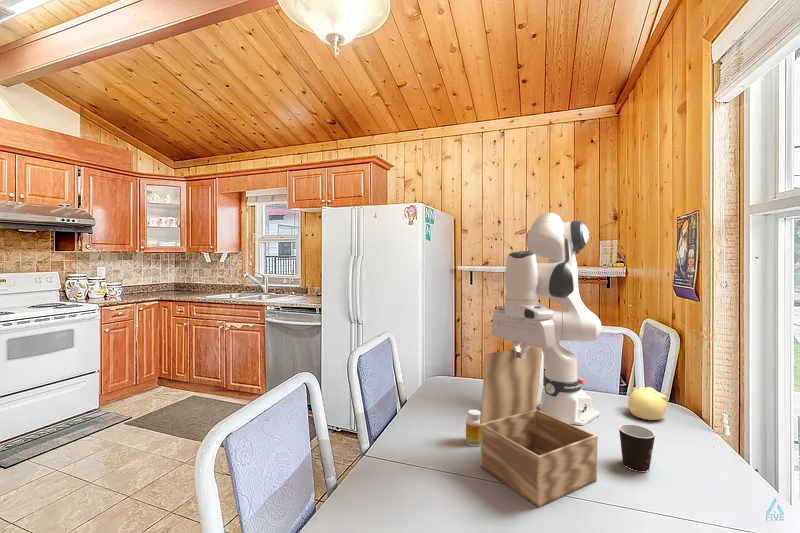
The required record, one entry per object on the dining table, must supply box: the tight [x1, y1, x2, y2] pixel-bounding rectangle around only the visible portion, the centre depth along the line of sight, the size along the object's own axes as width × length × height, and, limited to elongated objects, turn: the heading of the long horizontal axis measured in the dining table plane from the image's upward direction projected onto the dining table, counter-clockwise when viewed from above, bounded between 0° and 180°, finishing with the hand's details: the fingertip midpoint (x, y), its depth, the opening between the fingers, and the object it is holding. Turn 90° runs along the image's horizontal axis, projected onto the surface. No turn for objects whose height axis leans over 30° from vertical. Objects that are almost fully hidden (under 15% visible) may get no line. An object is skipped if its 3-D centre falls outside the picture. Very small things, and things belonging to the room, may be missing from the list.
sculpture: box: [627, 386, 668, 421], centre depth 142 cm, size 12×12×11 cm
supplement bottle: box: [465, 409, 482, 447], centre depth 122 cm, size 5×5×10 cm
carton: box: [480, 409, 599, 509], centre depth 105 cm, size 22×20×12 cm
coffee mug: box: [618, 423, 656, 471], centre depth 110 cm, size 12×9×10 cm
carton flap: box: [480, 345, 543, 424], centre depth 112 cm, size 22×20×1 cm
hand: (520, 357), depth 110 cm, fingers closed
